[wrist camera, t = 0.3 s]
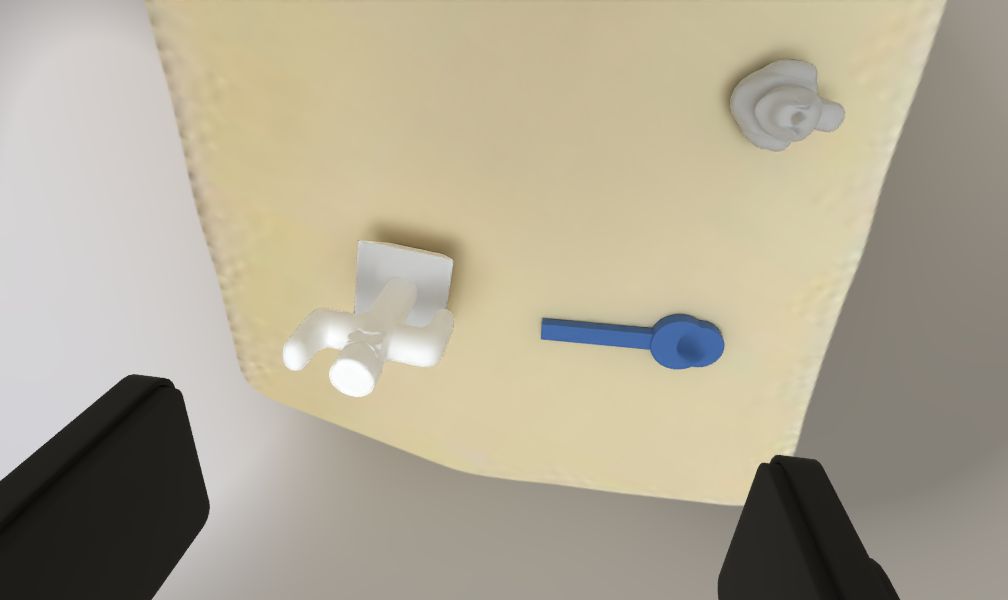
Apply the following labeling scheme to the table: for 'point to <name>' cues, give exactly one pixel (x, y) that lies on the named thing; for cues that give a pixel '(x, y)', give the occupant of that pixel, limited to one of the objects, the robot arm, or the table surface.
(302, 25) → the table surface
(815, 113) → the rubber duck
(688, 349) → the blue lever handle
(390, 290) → the figurine
